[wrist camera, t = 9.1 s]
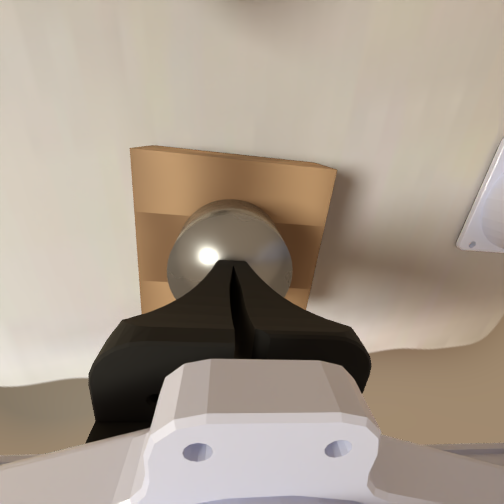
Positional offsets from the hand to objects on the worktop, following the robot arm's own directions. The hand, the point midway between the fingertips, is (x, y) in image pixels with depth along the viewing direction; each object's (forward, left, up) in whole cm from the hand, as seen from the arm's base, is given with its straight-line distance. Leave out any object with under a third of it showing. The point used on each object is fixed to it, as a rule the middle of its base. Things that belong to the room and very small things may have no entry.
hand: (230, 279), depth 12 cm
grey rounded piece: (0, 0, -6) cm, 6 cm away
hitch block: (0, 0, -7) cm, 7 cm away
